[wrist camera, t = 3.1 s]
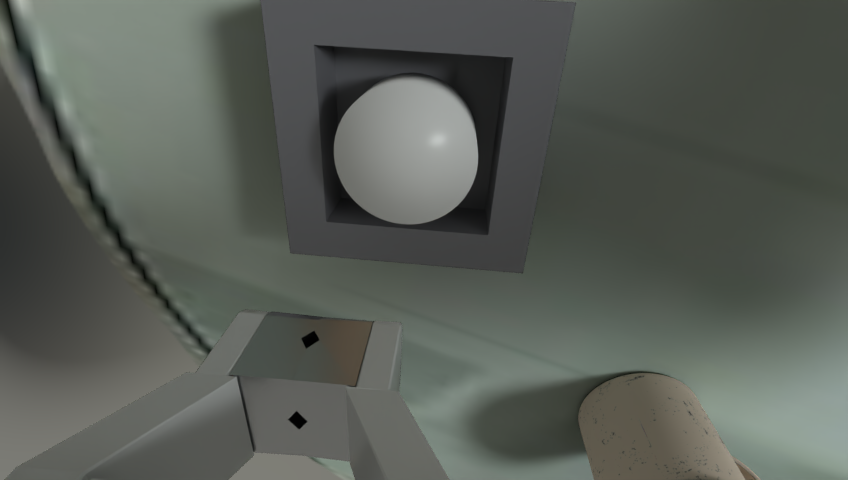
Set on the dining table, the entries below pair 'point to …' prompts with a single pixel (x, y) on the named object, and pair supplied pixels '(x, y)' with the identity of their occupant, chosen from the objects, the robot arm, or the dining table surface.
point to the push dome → (407, 149)
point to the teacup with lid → (653, 433)
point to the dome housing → (436, 56)
